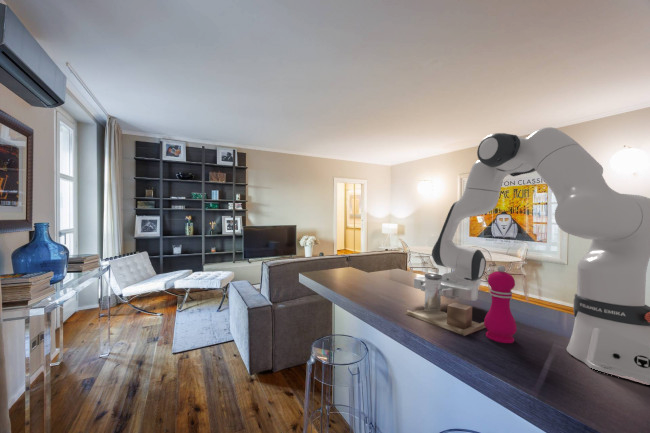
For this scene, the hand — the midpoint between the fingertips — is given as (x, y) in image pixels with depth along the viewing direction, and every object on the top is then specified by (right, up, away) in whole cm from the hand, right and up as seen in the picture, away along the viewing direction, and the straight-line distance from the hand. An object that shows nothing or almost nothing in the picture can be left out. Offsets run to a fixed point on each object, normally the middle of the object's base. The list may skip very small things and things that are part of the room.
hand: (431, 290), depth 89 cm
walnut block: (+4, -8, -11) cm, 14 cm away
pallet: (+2, -9, -5) cm, 10 cm away
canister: (0, -6, 0) cm, 6 cm away
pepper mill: (+11, -9, -17) cm, 22 cm away
